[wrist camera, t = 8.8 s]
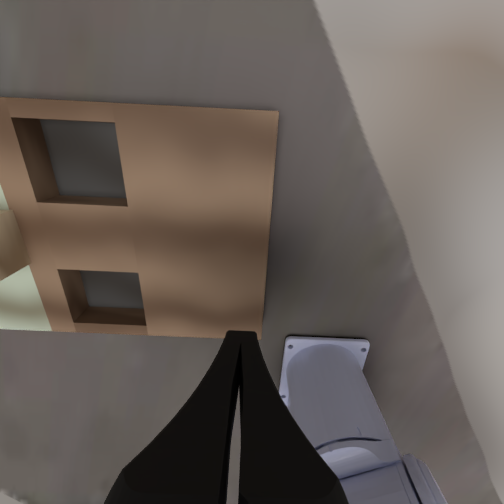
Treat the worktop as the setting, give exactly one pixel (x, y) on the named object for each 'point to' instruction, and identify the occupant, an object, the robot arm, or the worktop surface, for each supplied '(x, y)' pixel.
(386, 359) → the worktop surface
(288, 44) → the worktop surface
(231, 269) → the board
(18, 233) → the beech block
